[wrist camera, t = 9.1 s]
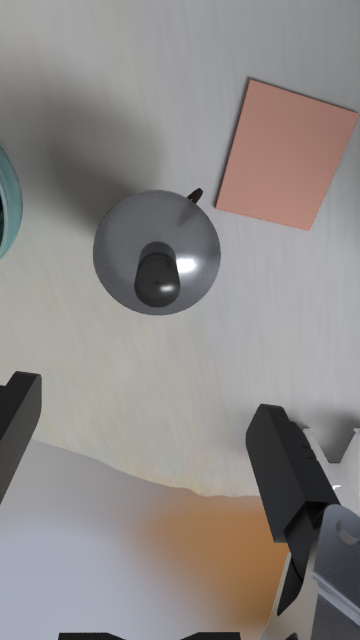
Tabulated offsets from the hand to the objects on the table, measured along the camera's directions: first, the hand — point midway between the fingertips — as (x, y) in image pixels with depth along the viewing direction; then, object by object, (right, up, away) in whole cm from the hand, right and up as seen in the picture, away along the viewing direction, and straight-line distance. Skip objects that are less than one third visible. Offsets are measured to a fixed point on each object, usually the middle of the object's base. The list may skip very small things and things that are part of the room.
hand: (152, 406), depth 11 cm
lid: (-1, +9, +16) cm, 18 cm away
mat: (+12, +20, +21) cm, 32 cm away
